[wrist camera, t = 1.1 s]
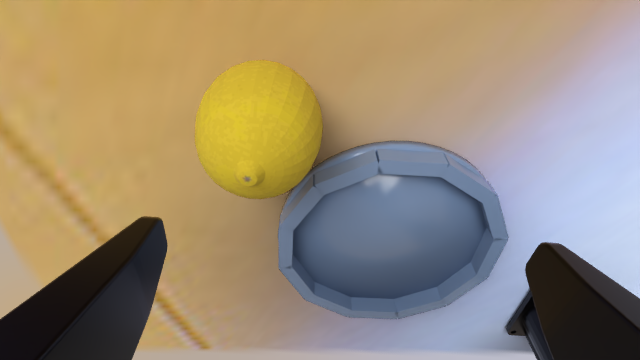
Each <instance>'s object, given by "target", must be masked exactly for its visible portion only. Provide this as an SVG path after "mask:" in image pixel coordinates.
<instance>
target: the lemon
mask: <svg viewBox="0 0 640 360" xmlns="http://www.w3.org/2000/svg"><path fill="white" fill-rule="evenodd" d="M322 131H323V123H322V116H321V109H320V106H319V103H318V101H317V99H316V96H315V94H314V92H313V90H312V89H311V87H310V86H309V85H308V83H307V82H306V81H305V80H304V78H303V77H301V76H300V75H299V74H298V73H296V72H295V71H294V70H292V69H291V68H289V67H287V66H284V65H282V64H280V63H277V62H272V61H267V60H256V61H247V62H244V63H241V64H238V65H235V66H233V67H231V68H230V69H228V70H227V71H225V72H224V73H223V74H221V75H220V76H218V77H217V78H216V79H215V81H214V82H213V83H212V84H211V86H210V87H209V88H208V90H207V91H206V92H205V94H204V96H203V98H202V101H201V104H200V106H199V109H198V112H197V115H196V124H195V145H196V149H197V153H198V157H199V160H200V162H201V164H202V166H203V167H204V169H205V171H206V172H207V174H208V175H209V176H210V177H211V178H212V179H213V181H214V182H215V183H216V184H218V185H219V186H221V187H222V188H223V189H225V190H226V191H229V192H231V193H233V194H235V195H237V196H241V197H245V198H252V199H264V198H271V197H275V196H278V195H280V194H283V193H285V192H287V191H289V190H290V189H292V188H293V187H295V186H296V185H297V184H298V183H299V182H300V181H301V180H302V179H303V178H304V177H305V176H306V174H307V173H308V172H309V170H310V169H311V167H312V165H313V163H314V161H315V159H316V156H317V154H318V152H319V149H320V145H321V138H322Z"/></svg>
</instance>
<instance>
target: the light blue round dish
mask: <svg viewBox="0 0 640 360" xmlns="http://www.w3.org/2000/svg"><path fill="white" fill-rule="evenodd" d="M508 238H509V237H508V234H507V230H506V226H505V222H504V218H503V214H502V210H501V207H500V203H499V199H498V196H497V194H496V192H495V191H494V189H493V188H492V186H491V184H490V183H489V182H488V181H486V179H485V178H484V176H483V175H482V174H481V173H480V172H479V171H478V169H477V168H476V167H475V166H473V165H472V164H471V163H470V162H468V161H467V160H466V159H464V158H463V157H461V156H459V155H457V154H455V153H454V152H452V151H449V150H446V149H444V148H441V147H439V146H434V145H430V144H426V143H421V142H412V141H386V142H377V143H371V144H366V145H362V146H358V147H355V148H352V149H349V150H346V151H343V152H341V153H339V154H337V155H334V156H332V157H330V158H328V159H327V160H325V161H323V162H322V163H320V164H319V165H317V166H316V167H314V168H313V169H312V170H311V171H309V172H308V173H307V174H306V176H305V177H304V178H303V179H302V180H301V181H300V182H299V183H298V184H297V185H296V186H295V187H294V188H293V189H292V191H291V192H290V194H289V195H288V197H287V199H286V201H285V203H284V206H283V208H282V212H281V215H280V222H279V231H278V240H279V270H280V271H281V272H282V273H283V275H284V276H285V277H286V278H287V279H288V280H289V282H290V283H291V284H292V285H293V286H294V288H295V289H296V290H297V291H298V292H299V294H300V295H301V296H302V297H303V298H304V299H306V301H308V302H311V303H313V304H316V305H318V306H321V307H323V308H326V309H328V310H331V311H333V312H336V313H338V314H341V315H343V316H346V317H353V318H379V319H397V318H398V319H400V318H404V317H408V316H411V315H415V314H419V313H422V312H426V311H430V310H434V309H437V308H441V307H445V306H446V305H449V304H451V303H452V302H453V301H455V300H456V299H458V298H459V297H461V296H462V295H464V294H465V293H467V292H468V291H470V290H471V289H472V288H474V287H475V286H477V285H478V284H480V283H481V282H483V281H484V280H486V279H487V277H489V275H490V273H491V271H492V269H493V267H494V265H495V263H496V261H497V260H498V258H499V256H500V254H501V252H502V250H503V248H504V246H505V244H506V242H507V241H508Z"/></svg>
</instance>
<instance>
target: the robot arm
mask: <svg viewBox="0 0 640 360" xmlns="http://www.w3.org/2000/svg"><path fill="white" fill-rule="evenodd" d="M166 253H167V239H166V234H165V230H164V225H163V221H162V220H161V218H159V217H146V216H144V217H141V218H139V219H137V220H136V221H135V222H133V223H132V224H131V225H129V226H128V227H126V228H125V229H124V230H122V231H121V232H120V233H118V234H117V235H115V236H114V237H113V238H111V239H110V240H108V241H107V242H106V243H104V244H103V245H102V246H100V247H99V248H97V249H96V250H95V251H93V252H92V253H91V254H89V255H88V256H86V257H85V258H84V259H82V260H81V261H80V262H78V263H77V264H75V265H74V266H73V267H71V268H70V269H69V270H67V271H66V272H64V273H63V274H62V275H60V276H59V277H58V278H56V279H55V280H53V281H52V282H51V283H49V284H48V285H46V286H45V287H44V288H42V289H41V290H40V291H38V292H37V293H35V294H34V295H33V296H31V297H30V298H29V299H27V300H26V301H25V302H23V303H22V304H20V305H19V306H18V307H16V308H15V309H13V310H12V311H11V312H9V313H8V314H7V315H5V316H4V317H2V318H1V319H0V360H132V358H133V355H134V353H135V350H136V348H137V345H138V343H139V340H140V338H141V335H142V333H143V330H144V328H145V325H146V322H147V320H148V317H149V314H150V311H151V308H152V304H153V301H154V297H155V293H156V290H157V286H158V282H159V279H160V275H161V271H162V268H163V264H164V260H165V256H166ZM525 271H526V277H527V280H528V284H529V287H530V290H531V291H530V292H529V294H528V295H527V297H526V298H525V300H524V301H523V303H522V304H521V306H520V307H519V309H518V311H517V312H516V314H515V315H514V317H513V318H512V320H511V321H510V323H509V324H508V326H507V327H506V330H507V333H508V334H509V335H518V336H526V338H527V340H528V342H529V344H530V346H531V348H532V350H533V352H534V354H535V356H536V358H537V360H640V298H638V297H637V296H635V295H634V294H632V293H631V292H629V291H628V290H627V289H625V288H624V287H622V286H621V285H619V284H618V283H616V282H615V281H614V280H612V279H611V278H609V277H608V276H606V275H605V274H603V273H602V272H601V271H599V270H598V269H596V268H595V267H593V266H592V265H591V264H589V263H588V262H586V261H585V260H583V259H582V258H580V257H579V256H578V255H576V254H575V253H573V252H572V251H570V250H569V249H567V248H566V247H565V246H563V245H561V244H559V243H547V242H544V243H541V244H540V245H539V246H538V247H537V248H536V250H535V251H534V253H533V255H532V256H531V258H530V259H529V261H528V262H527V264H526V269H525Z"/></svg>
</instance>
